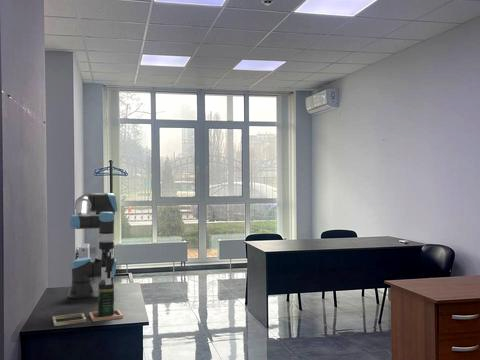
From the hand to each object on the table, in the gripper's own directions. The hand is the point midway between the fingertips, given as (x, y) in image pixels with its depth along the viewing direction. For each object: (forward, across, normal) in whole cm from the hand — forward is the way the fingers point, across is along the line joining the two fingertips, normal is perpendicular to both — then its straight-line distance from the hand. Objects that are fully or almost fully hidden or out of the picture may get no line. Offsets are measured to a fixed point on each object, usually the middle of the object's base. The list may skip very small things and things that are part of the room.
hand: (106, 281), depth 242 cm
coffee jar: (+18, +1, 0) cm, 18 cm away
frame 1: (+18, +1, -18) cm, 25 cm away
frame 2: (+18, +1, 0) cm, 18 cm away
